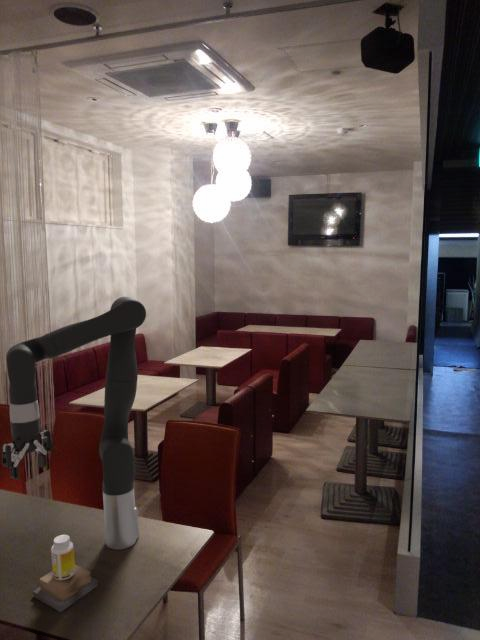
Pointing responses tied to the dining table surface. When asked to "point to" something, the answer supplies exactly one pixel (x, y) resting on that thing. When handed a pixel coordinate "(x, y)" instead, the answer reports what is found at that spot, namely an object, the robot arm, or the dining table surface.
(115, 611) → the dining table surface
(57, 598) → the pedestal
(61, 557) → the supplement bottle
